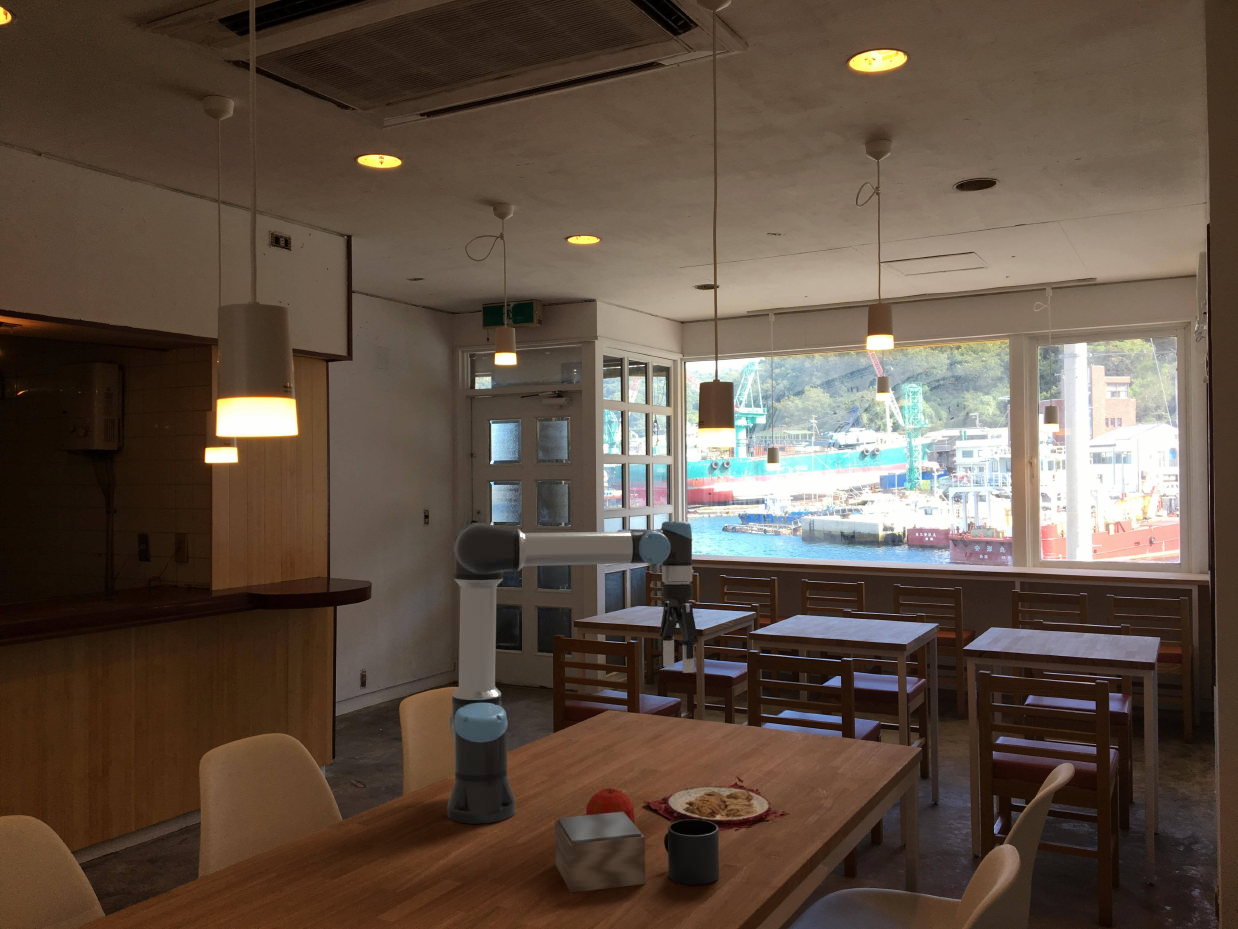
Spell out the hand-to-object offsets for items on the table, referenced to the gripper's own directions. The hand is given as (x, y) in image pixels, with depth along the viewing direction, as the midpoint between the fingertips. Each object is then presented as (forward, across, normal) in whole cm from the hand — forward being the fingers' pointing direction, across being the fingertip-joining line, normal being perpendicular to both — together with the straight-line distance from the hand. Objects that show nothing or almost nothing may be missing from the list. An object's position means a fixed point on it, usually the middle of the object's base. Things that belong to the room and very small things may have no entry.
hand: (678, 669), depth 245 cm
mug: (+31, -54, +19) cm, 65 cm away
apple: (+30, -33, +28) cm, 53 cm away
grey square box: (+31, -48, +35) cm, 67 cm away
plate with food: (+30, -22, -1) cm, 37 cm away
